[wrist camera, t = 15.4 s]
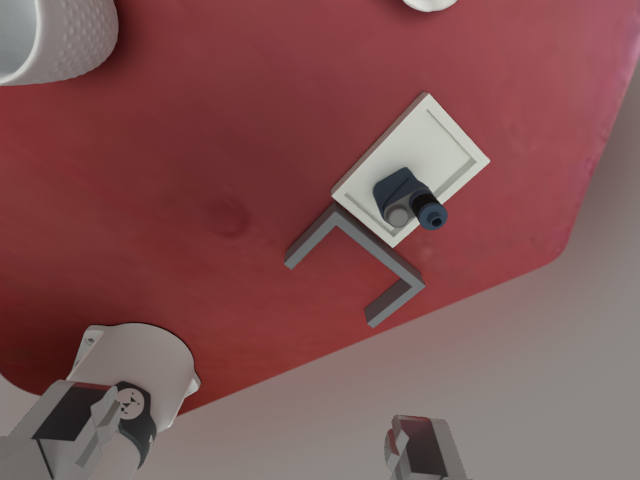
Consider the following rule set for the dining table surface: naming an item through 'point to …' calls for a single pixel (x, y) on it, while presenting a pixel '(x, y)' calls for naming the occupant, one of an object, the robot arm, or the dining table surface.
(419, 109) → the tray
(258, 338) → the dining table surface
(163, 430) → the robot arm
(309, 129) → the dining table surface
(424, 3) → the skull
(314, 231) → the bay
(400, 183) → the vaping device
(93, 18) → the mug
